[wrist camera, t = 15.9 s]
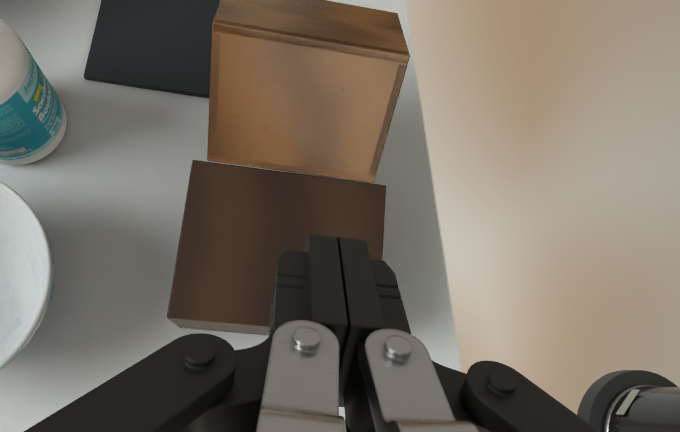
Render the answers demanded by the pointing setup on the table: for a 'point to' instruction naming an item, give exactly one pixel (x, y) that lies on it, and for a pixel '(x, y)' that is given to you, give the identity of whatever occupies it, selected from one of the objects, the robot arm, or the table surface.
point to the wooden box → (304, 85)
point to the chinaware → (22, 274)
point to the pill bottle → (26, 104)
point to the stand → (258, 238)
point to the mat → (154, 45)
